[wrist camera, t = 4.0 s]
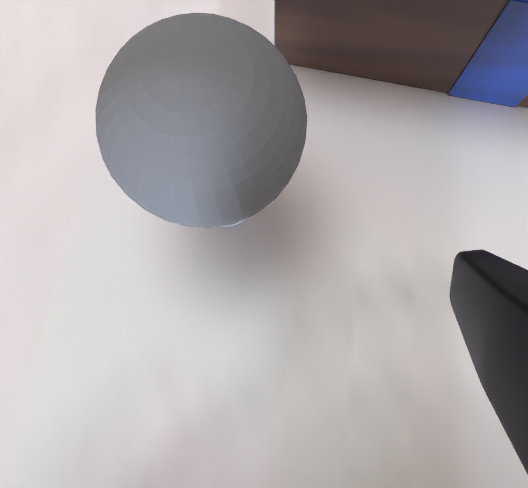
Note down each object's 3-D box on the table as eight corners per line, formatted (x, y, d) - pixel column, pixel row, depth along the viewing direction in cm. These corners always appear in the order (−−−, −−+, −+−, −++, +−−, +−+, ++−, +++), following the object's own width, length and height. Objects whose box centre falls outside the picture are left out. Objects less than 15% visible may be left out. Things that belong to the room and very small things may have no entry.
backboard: (701, 141, 21) (866, 57, 15) (273, 63, 23) (273, -42, 17) (703, 47, 22) (858, -65, 16) (294, -22, 24) (300, -150, 18)
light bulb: (138, 166, 22) (25, 9, 12) (263, 116, 22) (253, -76, 12) (186, 291, 20) (105, 230, 11) (318, 235, 21) (357, 126, 11)
